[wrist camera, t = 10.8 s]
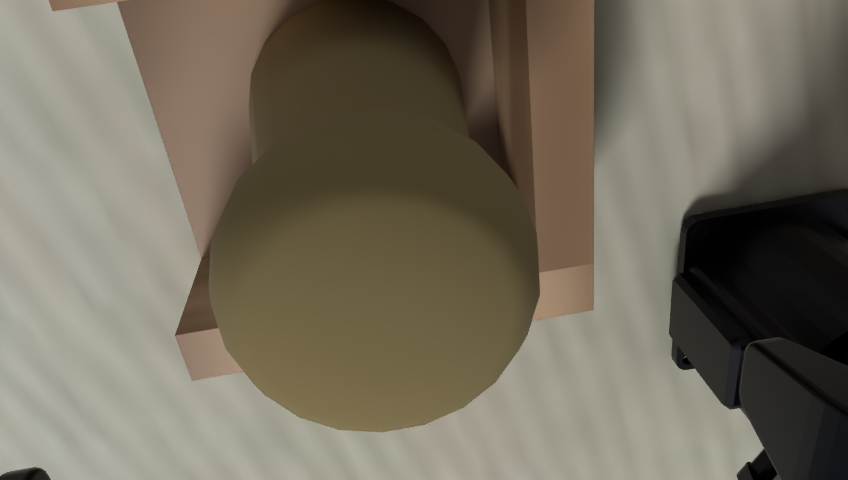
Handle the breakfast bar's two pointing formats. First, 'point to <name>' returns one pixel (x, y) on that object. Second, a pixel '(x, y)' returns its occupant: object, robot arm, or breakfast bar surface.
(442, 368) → the cork
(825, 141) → the breakfast bar surface
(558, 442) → the breakfast bar surface
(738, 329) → the robot arm
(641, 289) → the breakfast bar surface
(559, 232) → the wooden box
